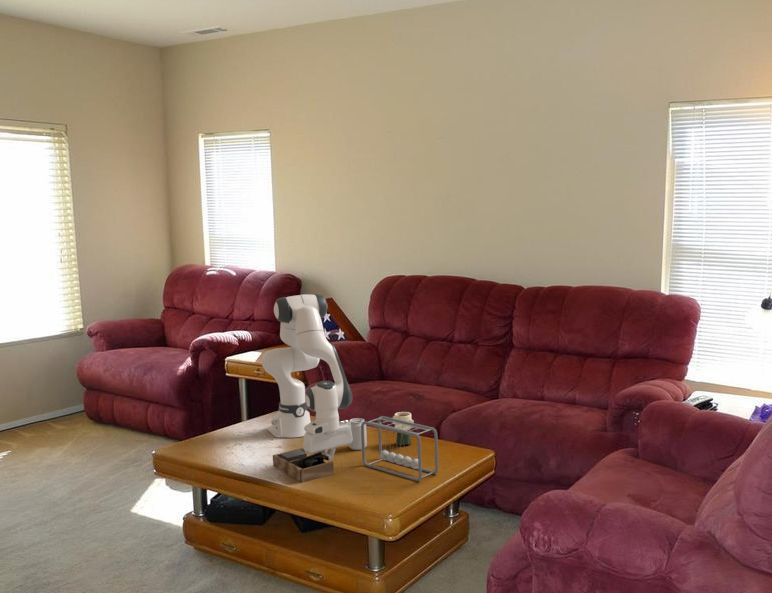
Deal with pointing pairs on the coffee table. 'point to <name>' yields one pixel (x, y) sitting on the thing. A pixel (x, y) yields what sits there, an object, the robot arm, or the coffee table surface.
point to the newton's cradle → (399, 458)
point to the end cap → (312, 460)
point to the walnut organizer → (299, 473)
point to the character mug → (404, 417)
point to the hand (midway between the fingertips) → (329, 459)
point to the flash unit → (293, 455)
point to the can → (357, 434)
